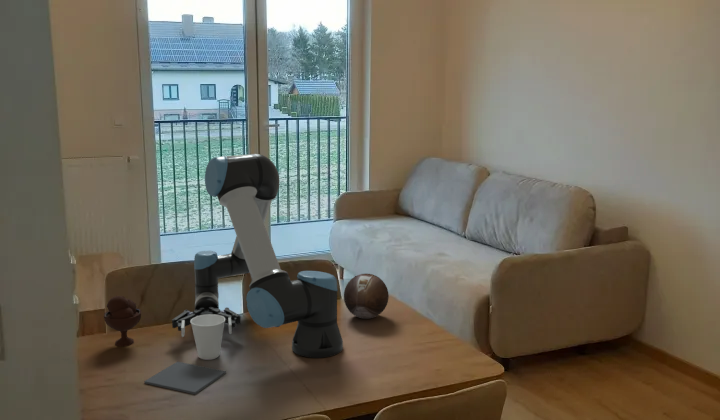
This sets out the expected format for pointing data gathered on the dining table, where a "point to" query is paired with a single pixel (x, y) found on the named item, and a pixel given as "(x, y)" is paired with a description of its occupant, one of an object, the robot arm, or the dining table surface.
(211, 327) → the cup
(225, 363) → the dining table surface
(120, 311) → the ice cream bowl
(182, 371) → the mat
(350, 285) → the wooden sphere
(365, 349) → the dining table surface
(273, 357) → the dining table surface
